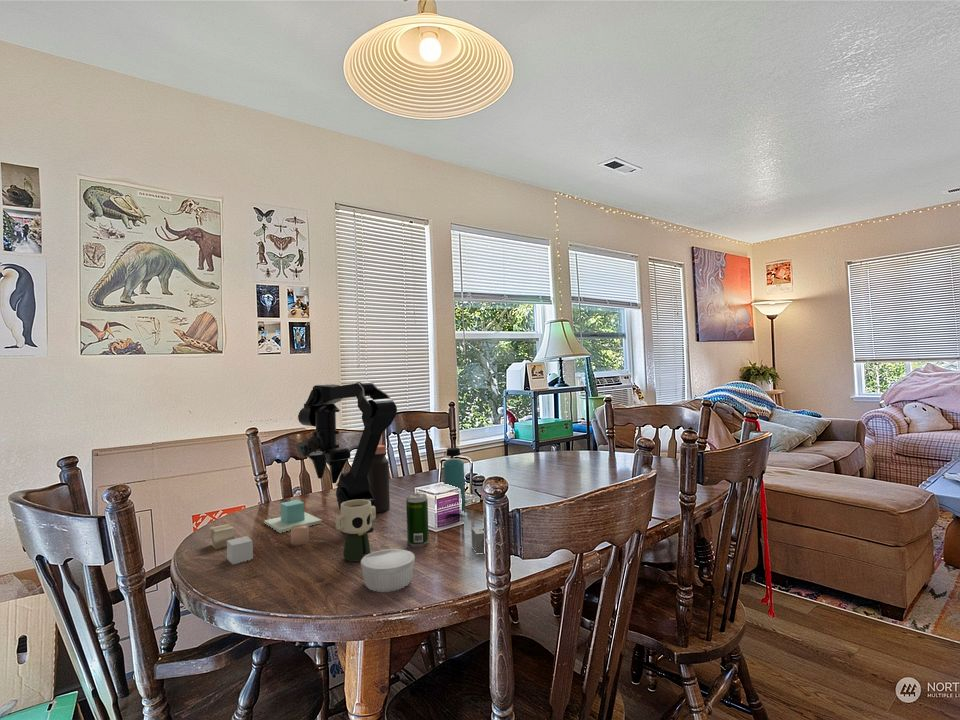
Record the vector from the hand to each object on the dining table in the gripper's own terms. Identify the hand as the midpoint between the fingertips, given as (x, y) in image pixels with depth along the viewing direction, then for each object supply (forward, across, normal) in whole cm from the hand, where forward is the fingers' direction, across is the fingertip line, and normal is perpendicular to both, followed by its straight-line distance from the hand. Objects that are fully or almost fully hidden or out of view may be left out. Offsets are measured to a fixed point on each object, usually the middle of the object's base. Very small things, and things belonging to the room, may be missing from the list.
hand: (327, 480), depth 148 cm
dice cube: (+12, +50, +16) cm, 54 cm away
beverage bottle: (+12, +22, +30) cm, 39 cm away
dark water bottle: (+12, 0, +17) cm, 21 cm away
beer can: (+12, +34, +8) cm, 37 cm away
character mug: (+12, +32, -8) cm, 35 cm away
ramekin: (+12, +49, -10) cm, 52 cm away
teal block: (+11, -6, -8) cm, 15 cm away
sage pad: (+12, -6, -8) cm, 16 cm away
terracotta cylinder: (+12, +11, -13) cm, 21 cm away
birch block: (+12, -2, -28) cm, 31 cm away
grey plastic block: (+12, +12, -28) cm, 33 cm away
